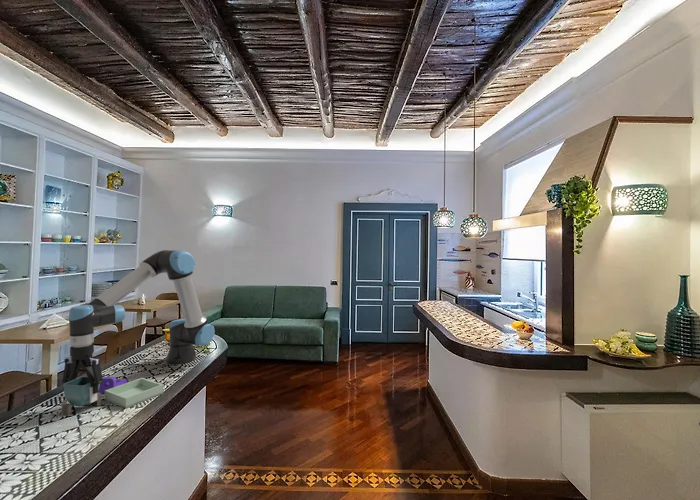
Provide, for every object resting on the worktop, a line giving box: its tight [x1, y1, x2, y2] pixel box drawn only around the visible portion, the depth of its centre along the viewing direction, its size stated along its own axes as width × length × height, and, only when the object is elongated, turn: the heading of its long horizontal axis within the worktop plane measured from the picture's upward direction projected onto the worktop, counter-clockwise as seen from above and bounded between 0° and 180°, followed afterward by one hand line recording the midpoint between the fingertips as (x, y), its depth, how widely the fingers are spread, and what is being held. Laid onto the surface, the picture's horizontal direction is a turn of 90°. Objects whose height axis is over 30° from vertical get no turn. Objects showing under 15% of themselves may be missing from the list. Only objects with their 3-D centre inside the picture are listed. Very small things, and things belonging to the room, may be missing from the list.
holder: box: [61, 392, 103, 417], centre depth 136 cm, size 12×7×4 cm, turn 142°
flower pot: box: [62, 375, 100, 407], centre depth 136 cm, size 9×9×9 cm
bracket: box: [98, 376, 128, 395], centre depth 155 cm, size 12×7×7 cm, turn 8°
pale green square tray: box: [104, 377, 164, 409], centre depth 146 cm, size 16×16×4 cm
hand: (83, 400), depth 136 cm, fingers closed on flower pot, 9 cm apart
